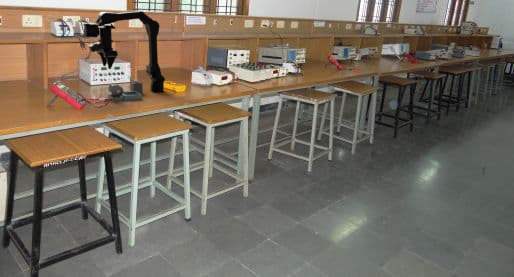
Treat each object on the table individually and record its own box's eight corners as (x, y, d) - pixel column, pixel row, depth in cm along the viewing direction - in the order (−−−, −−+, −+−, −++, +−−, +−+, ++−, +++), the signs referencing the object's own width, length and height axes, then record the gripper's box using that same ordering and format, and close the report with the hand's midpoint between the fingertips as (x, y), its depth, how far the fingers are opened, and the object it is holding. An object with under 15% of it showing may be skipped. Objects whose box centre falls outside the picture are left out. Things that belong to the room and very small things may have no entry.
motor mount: (135, 95, 228) (135, 81, 226) (142, 99, 221) (142, 85, 218) (107, 97, 220) (106, 83, 217) (113, 101, 212) (112, 86, 210)
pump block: (139, 92, 237) (139, 78, 235) (142, 94, 233) (142, 80, 231) (130, 92, 234) (130, 79, 232) (133, 94, 230) (133, 81, 228)
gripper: (84, 35, 220) (86, 65, 225) (94, 39, 205) (96, 71, 210) (106, 35, 226) (107, 64, 231) (117, 39, 212) (118, 70, 217)
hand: (107, 67), depth 222 cm, fingers open, 9 cm apart
